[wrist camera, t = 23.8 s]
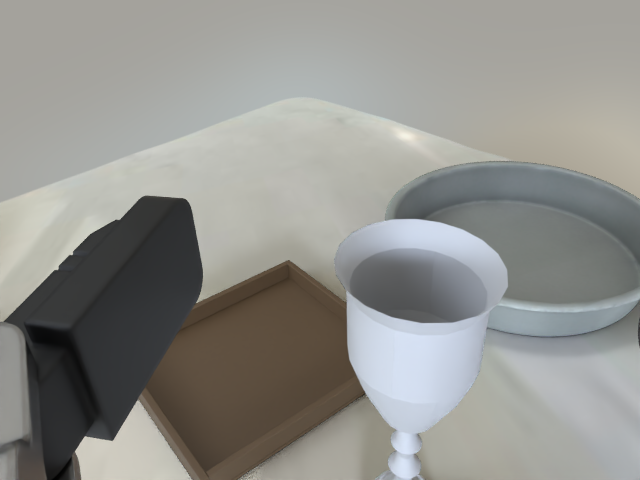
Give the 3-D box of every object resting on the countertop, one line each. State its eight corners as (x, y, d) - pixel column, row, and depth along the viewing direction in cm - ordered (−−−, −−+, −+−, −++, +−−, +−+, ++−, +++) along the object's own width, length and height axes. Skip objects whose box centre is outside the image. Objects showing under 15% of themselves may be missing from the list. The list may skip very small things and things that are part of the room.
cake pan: (459, 176, 68) (463, 141, 66) (691, 243, 55) (707, 202, 52) (331, 276, 53) (330, 235, 50) (612, 405, 39) (630, 358, 37)
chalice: (489, 540, 32) (548, 285, 22) (387, 605, 29) (402, 349, 19) (411, 443, 37) (430, 204, 27) (319, 491, 35) (303, 246, 25)
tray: (290, 275, 53) (288, 259, 52) (406, 366, 43) (407, 348, 42) (113, 361, 44) (107, 344, 43) (206, 500, 34) (201, 482, 33)
